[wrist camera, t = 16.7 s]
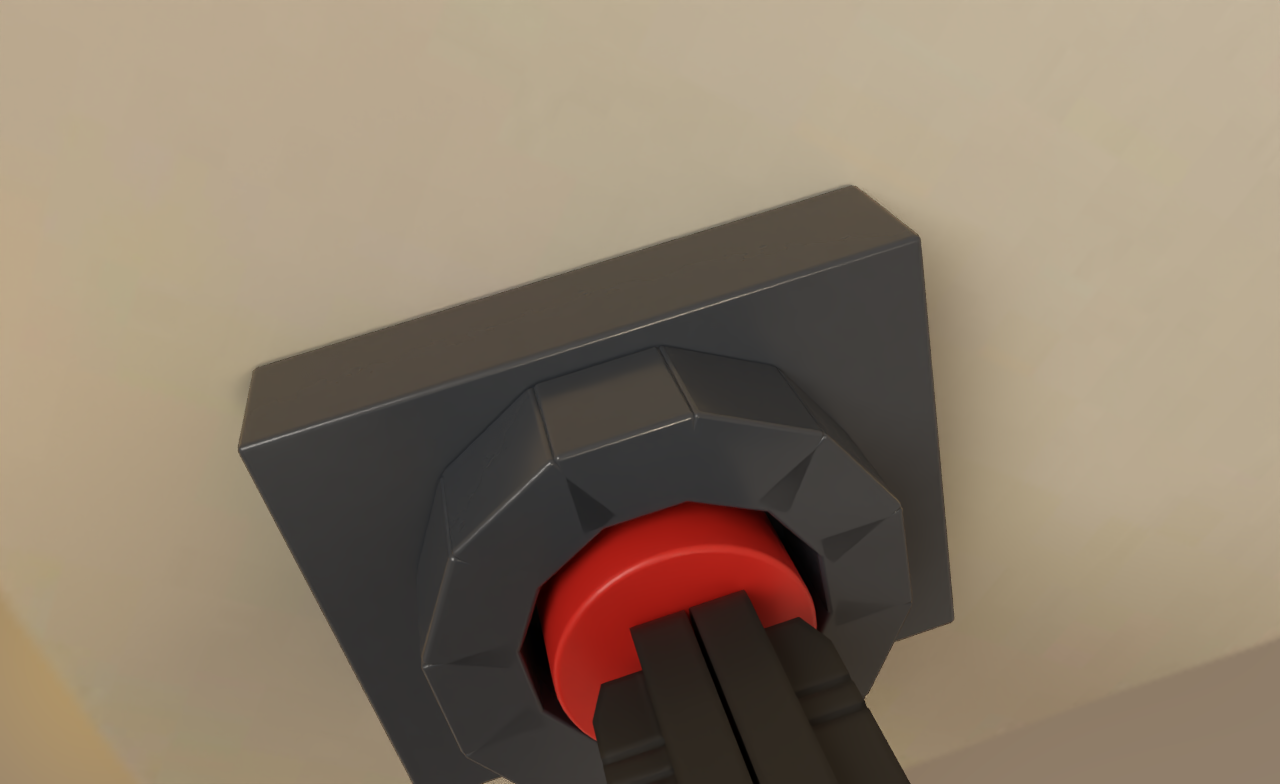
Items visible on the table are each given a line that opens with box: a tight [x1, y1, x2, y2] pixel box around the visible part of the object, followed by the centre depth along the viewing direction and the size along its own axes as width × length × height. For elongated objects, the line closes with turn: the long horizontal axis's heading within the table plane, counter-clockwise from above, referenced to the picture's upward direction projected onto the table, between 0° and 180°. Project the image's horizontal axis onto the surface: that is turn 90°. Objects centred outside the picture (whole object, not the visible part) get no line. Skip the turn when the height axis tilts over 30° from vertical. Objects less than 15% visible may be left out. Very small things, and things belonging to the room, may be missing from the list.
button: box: [536, 502, 817, 741], centre depth 14 cm, size 3×3×2 cm
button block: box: [238, 186, 954, 784], centre depth 15 cm, size 9×7×4 cm
